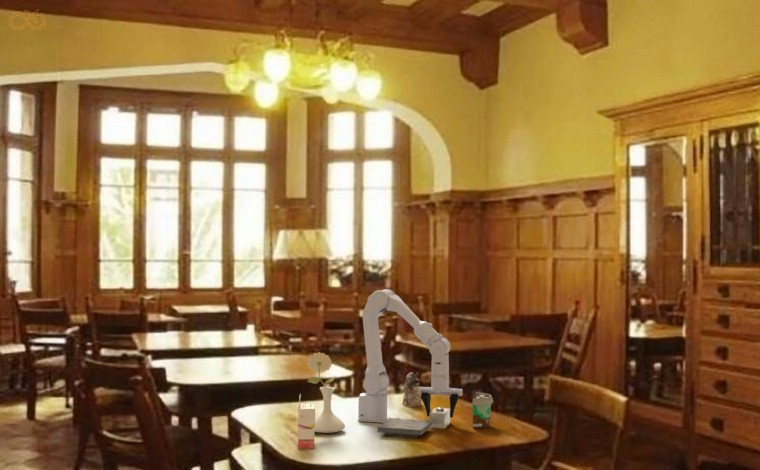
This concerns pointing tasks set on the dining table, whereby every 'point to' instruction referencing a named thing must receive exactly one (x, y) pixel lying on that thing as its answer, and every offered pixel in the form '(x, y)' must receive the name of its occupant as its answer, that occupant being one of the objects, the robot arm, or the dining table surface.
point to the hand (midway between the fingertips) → (440, 416)
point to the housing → (440, 417)
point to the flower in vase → (324, 395)
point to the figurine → (412, 391)
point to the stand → (404, 427)
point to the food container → (481, 410)
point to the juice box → (306, 426)
